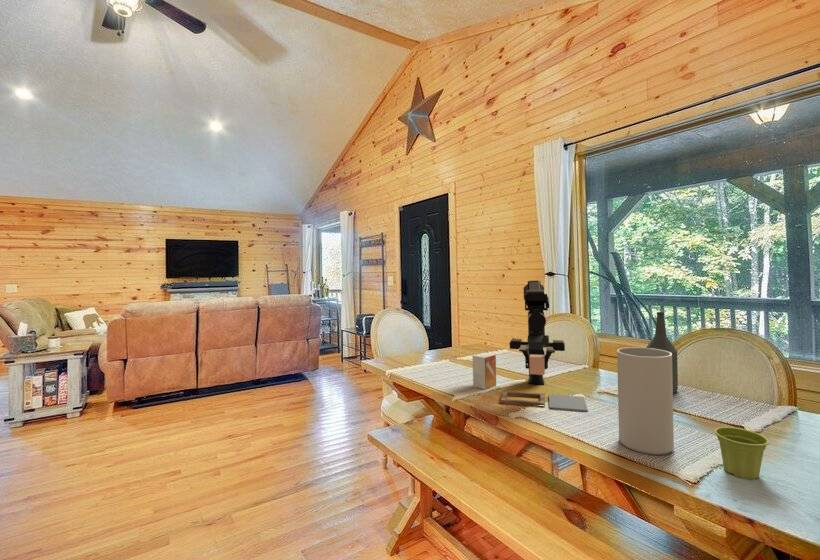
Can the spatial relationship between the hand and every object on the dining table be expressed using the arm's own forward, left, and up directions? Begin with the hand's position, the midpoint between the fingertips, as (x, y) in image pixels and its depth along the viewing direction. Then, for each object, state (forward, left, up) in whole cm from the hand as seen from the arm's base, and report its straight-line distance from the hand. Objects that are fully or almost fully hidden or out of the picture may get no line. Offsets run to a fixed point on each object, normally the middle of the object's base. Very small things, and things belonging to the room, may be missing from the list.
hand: (537, 368), depth 140 cm
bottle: (-25, +45, -12) cm, 53 cm away
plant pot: (+39, +45, -12) cm, 61 cm away
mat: (0, +10, -12) cm, 15 cm away
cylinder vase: (+29, +28, -12) cm, 42 cm away
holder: (0, -5, -12) cm, 13 cm away
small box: (-14, -21, -12) cm, 28 cm away
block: (0, 0, -2) cm, 2 cm away
